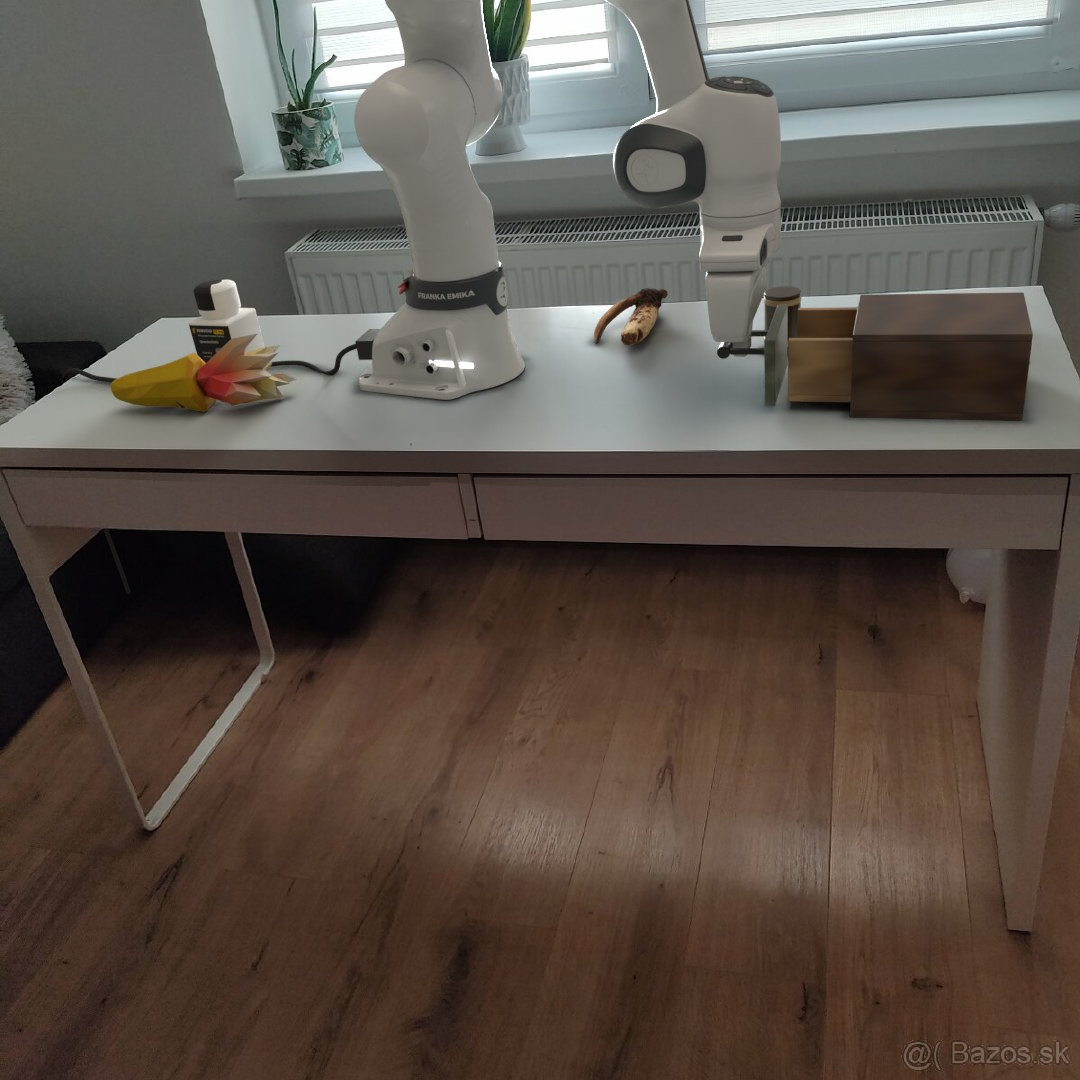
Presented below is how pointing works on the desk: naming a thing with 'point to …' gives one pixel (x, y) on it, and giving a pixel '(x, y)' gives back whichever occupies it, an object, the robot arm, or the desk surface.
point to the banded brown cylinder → (783, 297)
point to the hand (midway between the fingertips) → (742, 352)
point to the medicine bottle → (222, 319)
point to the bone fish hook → (634, 315)
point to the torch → (205, 379)
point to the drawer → (806, 354)
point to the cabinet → (941, 356)
